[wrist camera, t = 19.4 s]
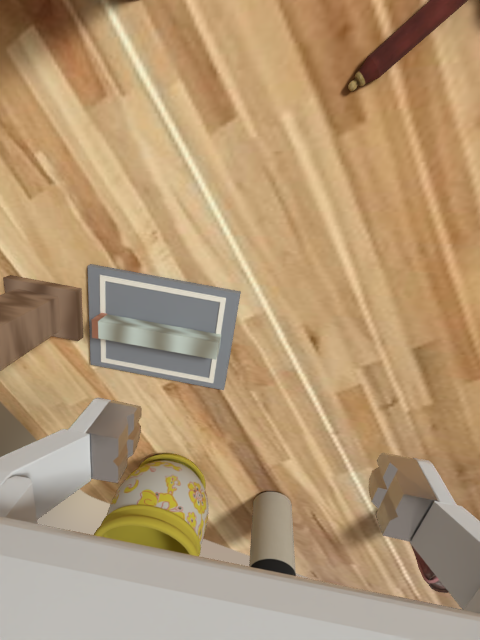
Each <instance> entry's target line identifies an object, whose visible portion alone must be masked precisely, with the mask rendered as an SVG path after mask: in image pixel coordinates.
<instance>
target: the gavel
mask: <svg viewBox="0 0 480 640" xmlns="http://www.w3.org/2000/svg"><path fill="white" fill-rule="evenodd" d="M467 1H468V0H430V1H429V2H428V3H427V4H426V5H425V6H423V7H422V8H421V9H420V10H419V11H418V12H417V13H416V14H415V15H413V16H412V17H411V18H410V19H409V20H408V21H407V22H406V23H405V24H404V25H402V26H401V27H400V28H399V29H398V30H397V31H396V32H395V33H394V34H393V35H391V36H390V37H389V38H388V39H387V40H386V41H385V42H384V43H383V44H382V45H380V46H379V47H378V48H377V49H376V50H375V51H374V52H373V53H372V54H371V55H369V56H368V57H367V59H366V60H365V62H364V63H363V65H362V66H361V68H360V69H359V71H358V72H357V73H356V74H355V80H353V81H351V82H350V83H349V84H348V89H349V90H350V91H354V90H355V89H356V88H357V86H358V85H359V86H363V85H365V84H366V83H369V82H371V81H373V80H375V79H377V78H379V77H380V76H381V75H383V74H384V73H385V72H386V71H387V70H388V69H389V68H391V67H392V66H393V65H394V64H395V63H396V62H398V61H399V60H400V59H401V58H402V57H403V56H404V55H406V54H407V53H408V52H409V51H410V50H411V49H412V48H414V47H415V46H416V45H417V44H418V43H419V42H421V41H422V40H423V39H424V38H425V37H426V36H427V35H429V34H430V33H431V32H432V31H433V30H434V29H435V28H437V27H438V26H439V25H440V24H441V23H442V22H444V21H445V20H446V19H447V18H448V17H449V16H450V15H452V14H453V13H454V12H455V11H456V10H457V9H459V8H460V7H461V6H462V5H463V4H464V3H465V2H467Z"/></svg>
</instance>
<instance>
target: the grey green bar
mask: <svg viewBox="0 0 480 640" xmlns="http://www.w3.org/2000/svg"><path fill="white" fill-rule="evenodd" d="M92 338H96V339H104V340H110V341H115V342H121V343H126V344H132V345H137V346H143V347H148V348H154V349H159V350H165V351H170V352H176V353H182V354H187V355H193V356H198V357H204V358H209V359H215V360H216V359H217V356H218V353H219V349H220V342H221V334H215V333H210V332H204V331H198V330H193V329H187V328H182V327H176V326H170V325H165V324H159V323H154V322H148V321H143V320H137V319H131V318H126V317H120V316H115V315H109V314H106V313H100V314H99V315H97V316H96V317H94V318H93V319H92Z"/></svg>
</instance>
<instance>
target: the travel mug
mask: <svg viewBox="0 0 480 640" xmlns="http://www.w3.org/2000/svg"><path fill="white" fill-rule="evenodd" d="M249 567H253V568H258V569H263V570H268V571H273V572H278V573H283V574H288V575H293V576H296V573H295V556H294V539H293V522H292V505H291V502H290V500H289V499H288V498H287V497H286V496H285V495H283V494H281V493H278V492H264V493H261V494H259V495H258V496H257V497H256V498H255V499H254V502H253V515H252V532H251V548H250V564H249Z"/></svg>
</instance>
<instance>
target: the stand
mask: <svg viewBox="0 0 480 640" xmlns="http://www.w3.org/2000/svg"><path fill="white" fill-rule="evenodd" d="M3 279H4V286H5V294H2V295H0V371H1V370H2V369H4V368H5V367H7V366H8V365H10V364H11V363H12V362H14V361H15V360H17V359H18V358H20V357H21V356H23V355H24V354H26V353H27V352H29V351H30V350H32V349H33V348H35V347H36V346H38V345H39V344H41V343H42V342H44V341H45V340H47V339H48V338H50V337H51V336H55V337H60V338H65V339H70V340H76V341H79V340H80V339H82V338H83V318H82V292H81V288H76V287H71V286H65V285H60V284H55V283H49V282H44V281H38V280H33V279H28V278H22V277H17V276H12V275H10V276H7V277H4V278H3Z"/></svg>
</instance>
